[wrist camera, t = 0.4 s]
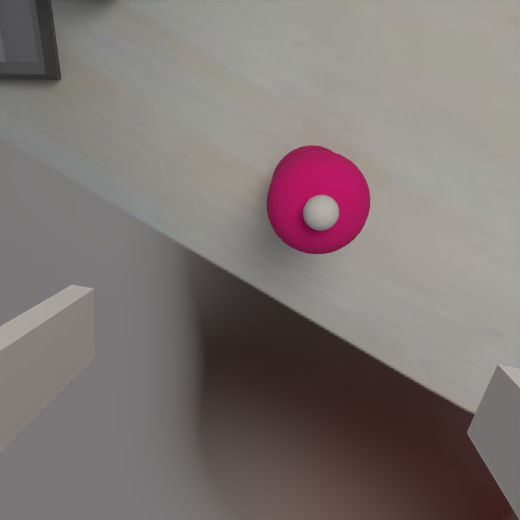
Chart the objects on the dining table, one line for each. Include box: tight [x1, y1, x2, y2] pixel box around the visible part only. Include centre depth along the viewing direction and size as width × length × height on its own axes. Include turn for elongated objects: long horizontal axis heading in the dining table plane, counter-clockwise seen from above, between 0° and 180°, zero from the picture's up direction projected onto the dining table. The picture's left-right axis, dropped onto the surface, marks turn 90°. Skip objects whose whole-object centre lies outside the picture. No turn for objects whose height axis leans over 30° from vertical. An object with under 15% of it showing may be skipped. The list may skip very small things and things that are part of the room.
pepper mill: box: [267, 146, 370, 254], centre depth 25 cm, size 7×7×20 cm
